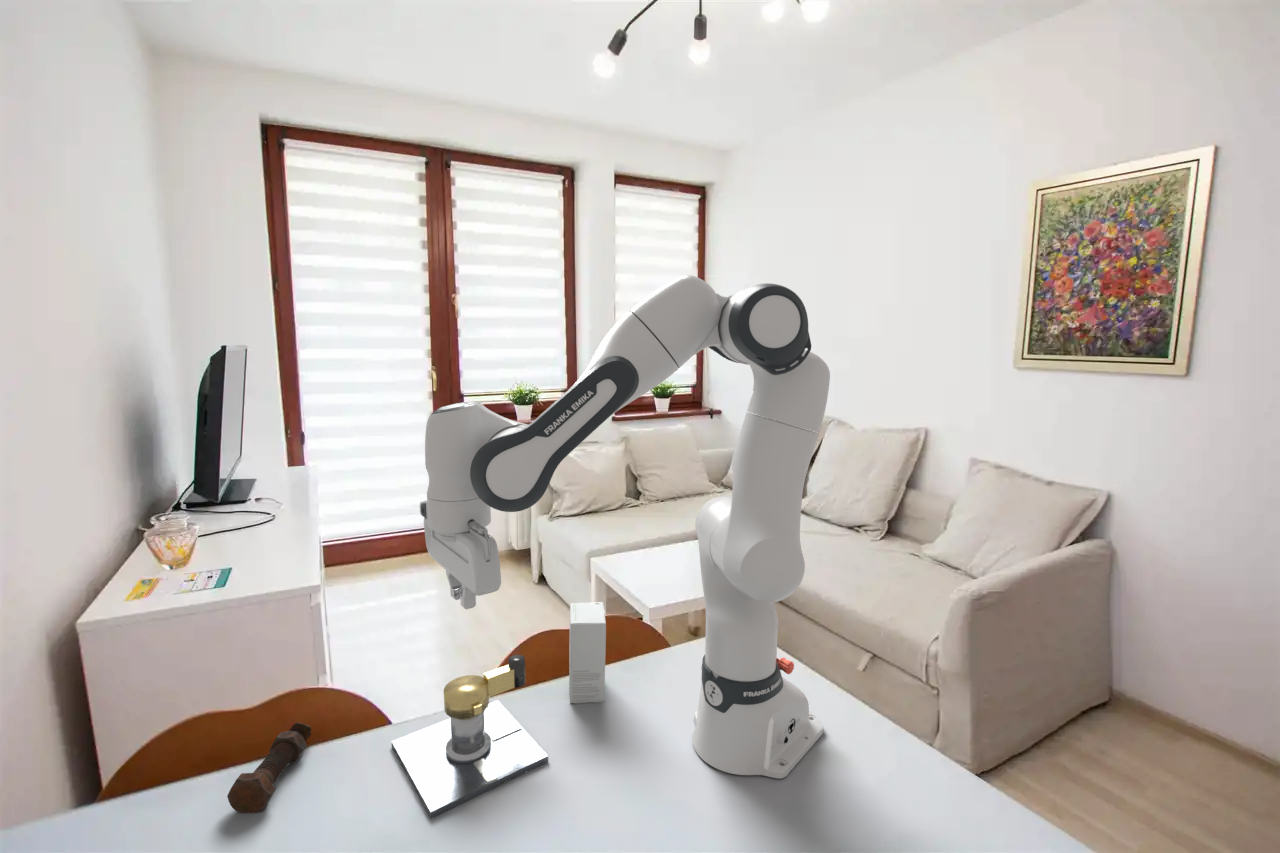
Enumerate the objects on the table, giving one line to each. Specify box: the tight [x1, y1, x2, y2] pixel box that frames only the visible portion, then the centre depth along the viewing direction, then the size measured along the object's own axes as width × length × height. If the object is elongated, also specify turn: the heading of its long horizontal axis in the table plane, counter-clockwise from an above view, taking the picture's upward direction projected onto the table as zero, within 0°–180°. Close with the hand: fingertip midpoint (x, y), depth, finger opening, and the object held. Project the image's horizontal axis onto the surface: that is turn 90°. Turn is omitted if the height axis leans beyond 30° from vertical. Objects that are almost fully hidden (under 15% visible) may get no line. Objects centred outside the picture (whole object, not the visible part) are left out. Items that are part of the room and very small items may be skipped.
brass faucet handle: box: [443, 654, 526, 719], centre depth 94 cm, size 13×9×5 cm
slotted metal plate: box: [391, 699, 549, 819], centre depth 93 cm, size 18×18×8 cm
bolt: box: [226, 722, 312, 814], centre depth 89 cm, size 6×5×15 cm
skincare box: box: [568, 601, 607, 704], centre depth 109 cm, size 8×7×16 cm
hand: (463, 602), depth 90 cm, fingers open, 3 cm apart
